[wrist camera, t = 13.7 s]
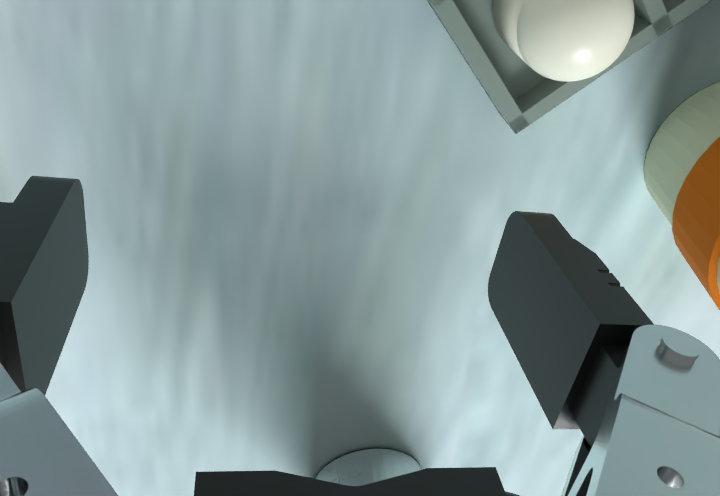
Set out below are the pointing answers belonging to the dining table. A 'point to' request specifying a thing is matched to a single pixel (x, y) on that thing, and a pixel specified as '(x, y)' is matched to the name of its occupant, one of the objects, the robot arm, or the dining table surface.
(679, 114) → the reusable coffee cup
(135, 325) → the dining table surface
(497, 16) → the egg carton
